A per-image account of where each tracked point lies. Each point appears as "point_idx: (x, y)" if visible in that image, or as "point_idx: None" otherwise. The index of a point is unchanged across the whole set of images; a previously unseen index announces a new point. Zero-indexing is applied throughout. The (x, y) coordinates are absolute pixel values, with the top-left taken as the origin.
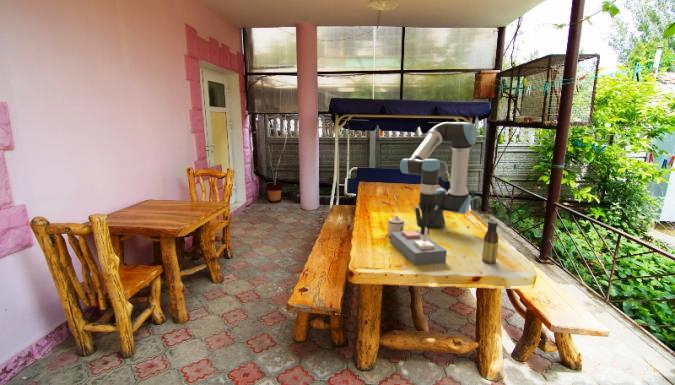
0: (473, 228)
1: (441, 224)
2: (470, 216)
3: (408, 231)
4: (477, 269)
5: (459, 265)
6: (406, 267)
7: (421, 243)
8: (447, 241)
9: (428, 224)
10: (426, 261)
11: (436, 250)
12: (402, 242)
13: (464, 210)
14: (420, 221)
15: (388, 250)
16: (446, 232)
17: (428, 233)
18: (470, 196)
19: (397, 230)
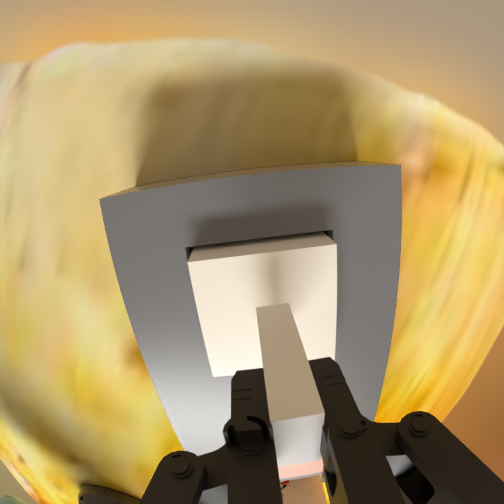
0: (8, 449)
1: (89, 493)
2: (25, 487)
3: (285, 473)
4: (18, 107)
5: (73, 146)
6: (407, 145)
7: (298, 311)
8: (73, 415)
9: (276, 486)
10: (279, 167)
11: (189, 201)
12: (384, 365)
13: (3, 502)
14: (469, 485)
15: (400, 353)
16: (75, 462)
17: (241, 378)
18: None
19: (297, 487)
